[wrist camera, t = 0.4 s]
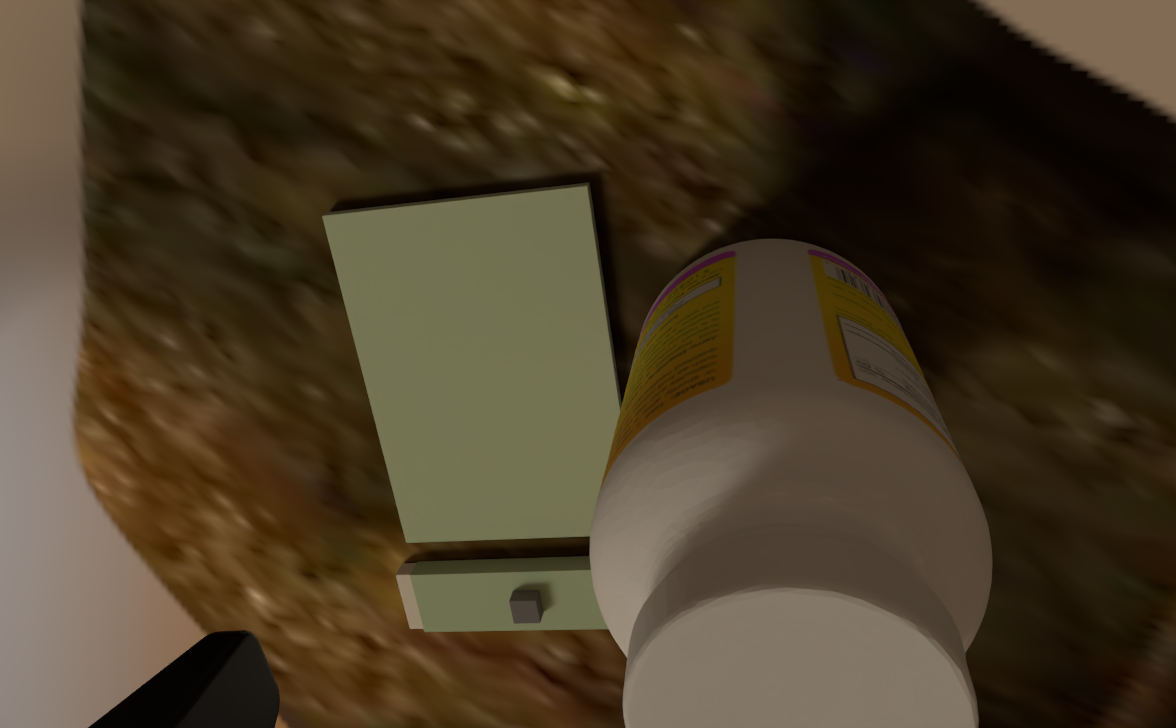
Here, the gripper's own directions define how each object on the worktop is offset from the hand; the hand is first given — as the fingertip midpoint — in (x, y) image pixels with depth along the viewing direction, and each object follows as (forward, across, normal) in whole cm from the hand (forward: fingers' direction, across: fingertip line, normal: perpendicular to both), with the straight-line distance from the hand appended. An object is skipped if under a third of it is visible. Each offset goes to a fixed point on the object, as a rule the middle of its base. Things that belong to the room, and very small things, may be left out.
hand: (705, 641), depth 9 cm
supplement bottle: (+15, -2, +5) cm, 16 cm away
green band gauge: (+15, +2, +7) cm, 16 cm away
